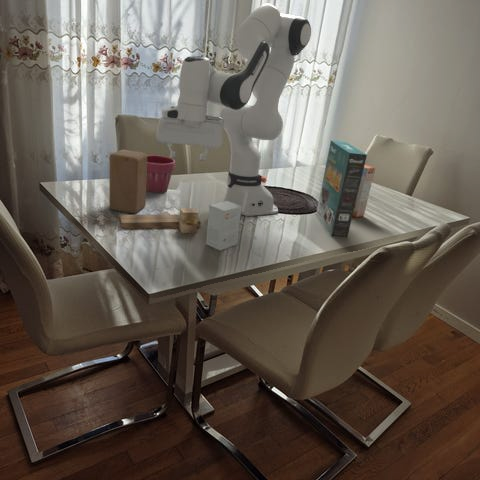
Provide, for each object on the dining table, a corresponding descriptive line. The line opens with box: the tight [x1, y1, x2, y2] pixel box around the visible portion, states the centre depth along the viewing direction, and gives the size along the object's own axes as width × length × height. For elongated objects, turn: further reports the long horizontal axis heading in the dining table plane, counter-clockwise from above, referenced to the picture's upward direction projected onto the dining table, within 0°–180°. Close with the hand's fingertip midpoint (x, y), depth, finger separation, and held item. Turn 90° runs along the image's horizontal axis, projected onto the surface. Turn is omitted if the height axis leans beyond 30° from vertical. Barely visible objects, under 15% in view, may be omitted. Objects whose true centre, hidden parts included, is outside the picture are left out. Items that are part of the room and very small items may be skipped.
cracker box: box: [352, 164, 376, 218], centre depth 177 cm, size 14×6×21 cm, turn 38°
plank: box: [119, 213, 202, 230], centre depth 143 cm, size 26×7×2 cm, turn 109°
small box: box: [205, 200, 242, 252], centre depth 131 cm, size 8×6×13 cm
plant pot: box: [146, 154, 176, 193], centre depth 175 cm, size 14×14×13 cm
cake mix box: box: [315, 140, 368, 239], centre depth 156 cm, size 22×6×30 cm, turn 5°
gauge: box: [178, 207, 199, 234], centre depth 141 cm, size 5×9×7 cm, turn 19°
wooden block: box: [109, 149, 148, 215], centre depth 149 cm, size 10×10×20 cm
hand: (187, 158), depth 134 cm, fingers open, 8 cm apart
